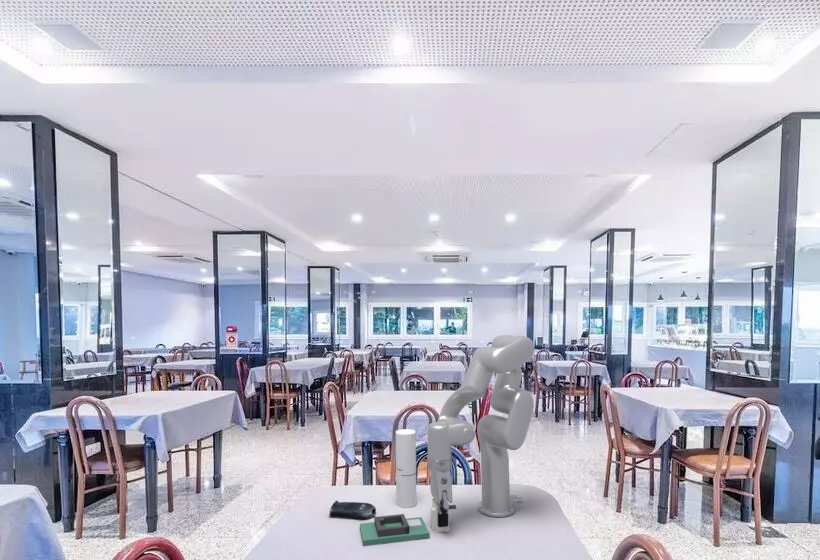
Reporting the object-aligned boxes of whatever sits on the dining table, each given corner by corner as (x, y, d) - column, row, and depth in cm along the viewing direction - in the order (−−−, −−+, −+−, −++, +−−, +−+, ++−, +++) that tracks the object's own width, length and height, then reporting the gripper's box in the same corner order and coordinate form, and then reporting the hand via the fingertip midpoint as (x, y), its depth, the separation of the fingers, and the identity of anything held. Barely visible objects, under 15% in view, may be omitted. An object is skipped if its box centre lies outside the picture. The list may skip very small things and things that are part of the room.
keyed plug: (453, 522, 145) (453, 497, 146) (458, 530, 141) (457, 503, 141) (429, 525, 144) (429, 499, 144) (433, 532, 139) (433, 505, 140)
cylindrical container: (404, 497, 166) (403, 428, 167) (420, 502, 161) (419, 431, 163) (392, 504, 160) (391, 432, 162) (408, 509, 156) (407, 435, 157)
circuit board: (421, 521, 146) (421, 510, 147) (429, 538, 136) (429, 526, 136) (359, 528, 142) (359, 517, 143) (363, 546, 132) (363, 533, 132)
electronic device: (328, 525, 149) (373, 520, 147) (327, 506, 150) (371, 501, 148) (337, 516, 158) (379, 511, 156) (335, 499, 159) (377, 494, 157)
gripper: (459, 471, 136) (460, 533, 135) (443, 454, 152) (444, 509, 151) (435, 473, 134) (436, 536, 133) (422, 455, 151) (422, 511, 150)
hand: (440, 521), depth 142 cm, fingers closed on keyed plug, 4 cm apart
